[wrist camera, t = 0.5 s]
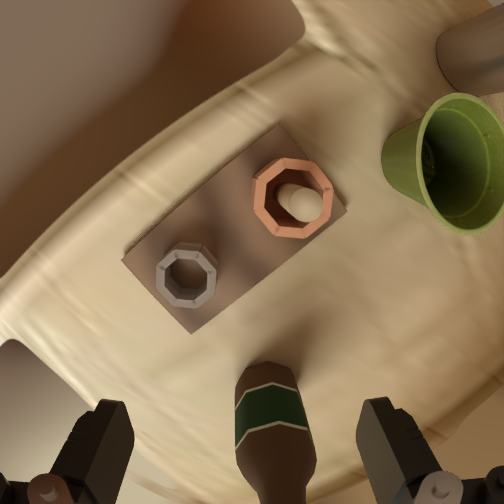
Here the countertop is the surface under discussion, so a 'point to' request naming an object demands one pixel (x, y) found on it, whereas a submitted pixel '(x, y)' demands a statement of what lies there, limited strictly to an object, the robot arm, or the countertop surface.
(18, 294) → the countertop surface
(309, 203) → the birch dowel
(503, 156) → the plant pot
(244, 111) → the countertop surface
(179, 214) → the peg socket board
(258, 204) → the terracotta cup
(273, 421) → the beer bottle
